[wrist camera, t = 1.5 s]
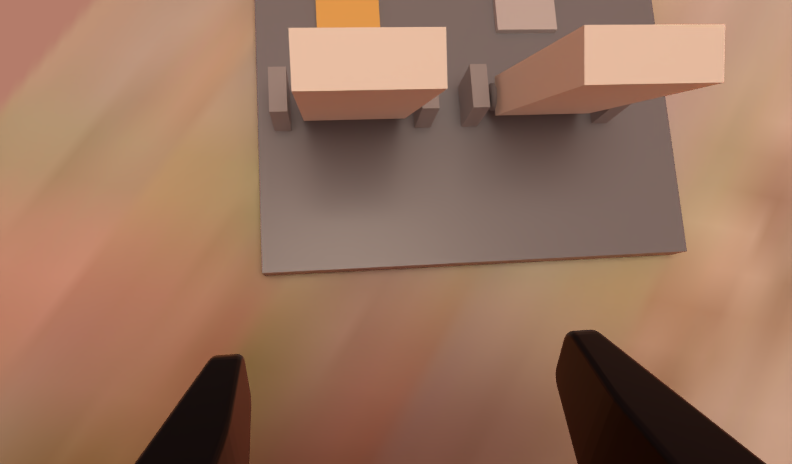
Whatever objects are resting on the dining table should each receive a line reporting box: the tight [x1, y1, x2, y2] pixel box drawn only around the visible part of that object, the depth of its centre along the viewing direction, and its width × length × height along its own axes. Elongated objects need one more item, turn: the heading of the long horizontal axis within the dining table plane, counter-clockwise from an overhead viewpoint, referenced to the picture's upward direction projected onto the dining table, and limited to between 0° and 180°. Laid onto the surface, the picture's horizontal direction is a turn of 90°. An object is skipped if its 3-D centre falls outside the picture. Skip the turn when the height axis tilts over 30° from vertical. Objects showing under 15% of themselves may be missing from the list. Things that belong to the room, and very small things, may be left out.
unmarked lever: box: [488, 24, 725, 116], centre depth 18 cm, size 1×4×8 cm, turn 94°
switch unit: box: [255, 0, 687, 276], centre depth 22 cm, size 12×16×3 cm
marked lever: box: [288, 27, 448, 121], centre depth 18 cm, size 1×4×8 cm, turn 94°
